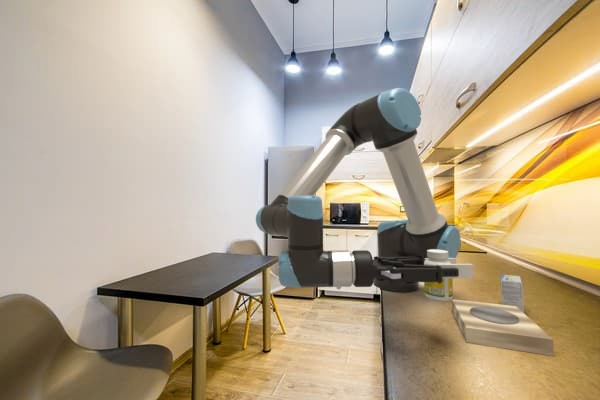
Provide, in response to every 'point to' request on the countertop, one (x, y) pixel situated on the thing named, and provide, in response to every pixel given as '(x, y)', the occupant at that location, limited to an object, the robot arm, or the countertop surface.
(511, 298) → the medicine box
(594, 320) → the countertop surface
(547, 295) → the countertop surface
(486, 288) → the countertop surface
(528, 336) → the birch board
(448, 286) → the supplement bottle
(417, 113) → the robot arm
